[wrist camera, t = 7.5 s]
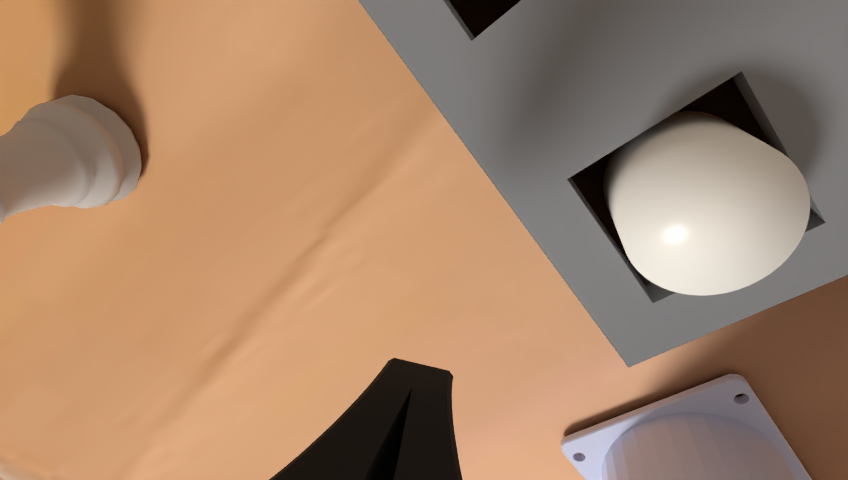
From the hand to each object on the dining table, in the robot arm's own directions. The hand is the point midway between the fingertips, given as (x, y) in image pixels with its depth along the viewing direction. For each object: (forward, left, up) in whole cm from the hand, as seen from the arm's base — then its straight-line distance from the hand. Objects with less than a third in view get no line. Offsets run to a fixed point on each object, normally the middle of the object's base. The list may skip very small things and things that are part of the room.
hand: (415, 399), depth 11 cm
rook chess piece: (+12, +11, -9) cm, 18 cm away
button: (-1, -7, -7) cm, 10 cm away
